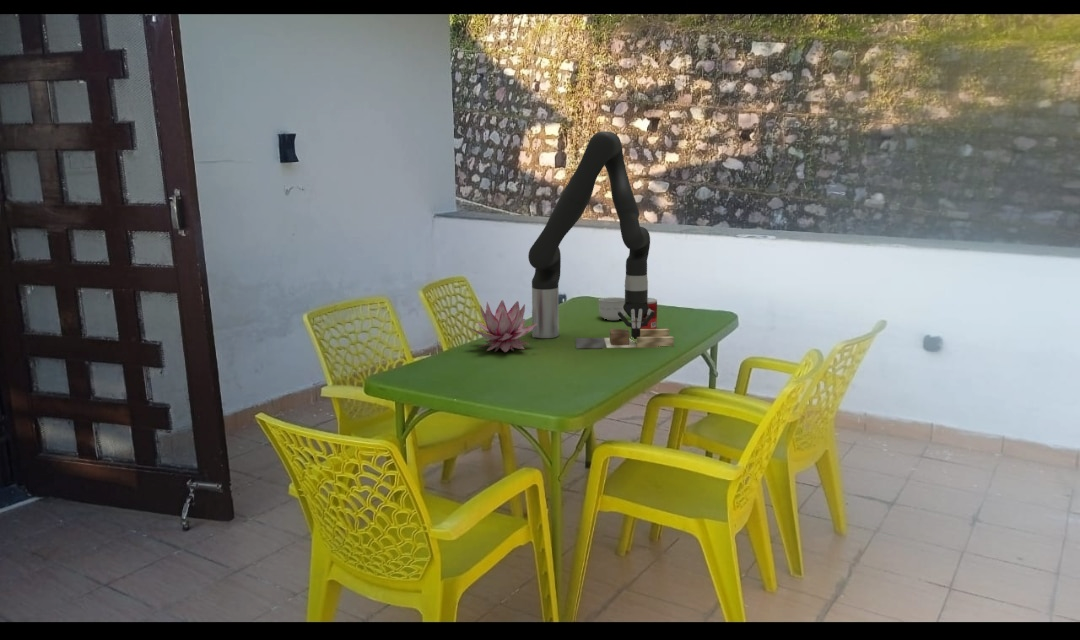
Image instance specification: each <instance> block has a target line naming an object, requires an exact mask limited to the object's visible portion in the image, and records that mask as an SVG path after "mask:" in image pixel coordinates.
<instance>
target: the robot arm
mask: <svg viewBox="0 0 1080 640" xmlns="http://www.w3.org/2000/svg"><path fill="white" fill-rule="evenodd" d="M622 145H623V144H622V141H621V139H620V137H619V135H618V134H616V133H614V132H612V131H598V132H596V133H595V134H594V135H592V136H591V138H590V139H589V141H588V143H587V146H586V148H585V150H584V153H583V155H582V157H581V160H580V162H579V164H578V166H577V168H576V169H575V171H574V173H573V174H572V176H571V177H570V179H569V181H568V183H567V184H566V186H565V188H564V190H563V191H562V192H561V195H560V197H559V198H558V199H557V202H556V204H555V205H554V206H555V207H554V208H553V210H552V211H551V214H550V216H549V218H548V221H547V223H545V226H544V228H543V230H542V231H541V232H540V234H539V235H538V237H537V238H536V240H535V241H534V243H532V246H531V247H530V248H529V250H528V251H529V252H528V255H527V256H528V262H529V264H530V266H532V268H534V269H535V271H534V275H533V277H532V279H531V307H532V309H531V322H532V324H531V325H534V324H537V325H536V326H535V327H534V328H533V329H532V330H531V332H532V333H531V334H532V338H538V339H552V338H557V337H560V327H559V326H560V318H559V317H560V316H559V315H560V314H559V313H560V312H559V311H560V310H559V306H560V305H559V304H560V303H559V302H560V301H559V299H560V298H559V282H560V278H561V261H562V260H561V259H562V258H561V249H560V248H559V247H560V244H561V243H562V241H563V239H564V238H565V236H566V235H567V234H568V233H569V232H570V231H571V229H573V227H574V226H575V225H576V224H577V222H579V220H580V218H581V217H582V215H583V213H584V212H585V210H586V208H587V207H588V204H589V203H590V201H591V199H592V196H593V192H594V189H595V185H596V184H595V183H596V181H597V178H598V177H599V175H600V173H601V171H602V170H603V168H604V167H605V169H606V171H607V175H608V178H609V183H610V184H609V186H610V193H611V199H612V202H613V207H614V209H615V212H616V214H617V217H618V219H619V228H620V234H621V239H622V242H623V244H624V246H625V247H626V248H627V249H628V250H629V252H628V257H626V261H625V279H624V298H625V304H624V306H623V309H622V310H620V311H618V312H617V314H618V316H619V317H620V318H621V321H622V322H623V323H624V324H625V326H627V328H630V329H631V331H630V335H631V337H633V339H637V337H640V328H641V327H643V326H644V327H645V326H646V325H647V323H648V322H649V321H650V320H651V319H652V317H653V316H654V315H655V312H654V311H653V310H651V309H649V306H648V298H649V297H648V293H649V289H648V288H649V287H648V286H649V285H648V283H649V281H648V257H649V253H650V248H651V247H650V246H651V236H650V232H649V231H648V229H647V228H646V227H644V226H640V221H639V217H640V210H639V207H638V204H637V200H636V198H635V195H634V192H633V190H632V187H631V184H630V183H631V182H630V180H629V176H628V172H627V168H626V164H625V159H624V153H623V152H624V151H623V146H622ZM647 311H648V312H647ZM624 312H626V313H627V316H628V317H629V318H630V322H629V320H628V318H626V317H625V316H626V315H625V313H624ZM646 312H647V316H646V318H645V319H644V320H643V321H642V322H641V319H642V317H643V316H644V315H645V313H646ZM635 318H637V322H636V326H635ZM635 327H636V328H635Z"/></svg>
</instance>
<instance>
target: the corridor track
mask: <svg viewBox="0 0 1080 640" xmlns="http://www.w3.org/2000/svg"><path fill="white" fill-rule="evenodd" d="M631 338H632V336H631ZM674 340H675V338H674V336H672V335H671V336H670V329H669V328H656V329H640V337H637V343H636V342H635V341H633V340H631V339H630V338H629V345H611V343H610V337H575V338H574V343H575V349H576V350H600V349H601V350H602V349H612V348H614V349H616V348H618V349H621V348H623V349H624V348H628V349H629V348H661V347H660V346H674V345H675V341H674ZM632 341H633V342H632ZM634 342H635V343H634ZM658 346H659V347H658Z"/></svg>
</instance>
